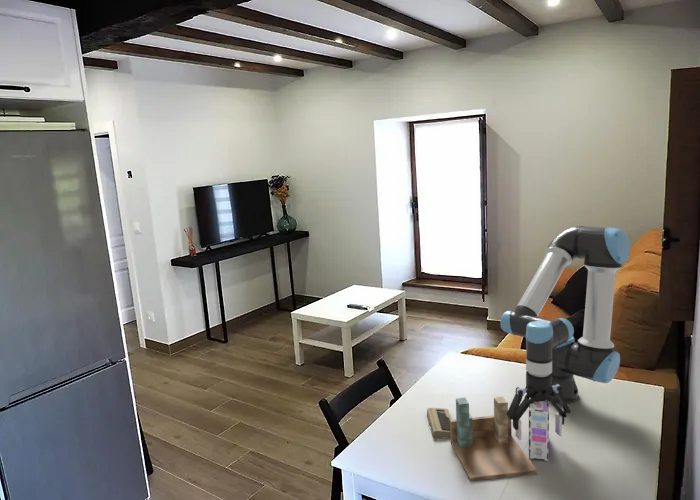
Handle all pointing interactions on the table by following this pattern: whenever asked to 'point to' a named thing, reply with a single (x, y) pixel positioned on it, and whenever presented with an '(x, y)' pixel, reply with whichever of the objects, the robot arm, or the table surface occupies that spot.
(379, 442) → the table surface
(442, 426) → the computer
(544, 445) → the candy box
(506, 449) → the shelf
